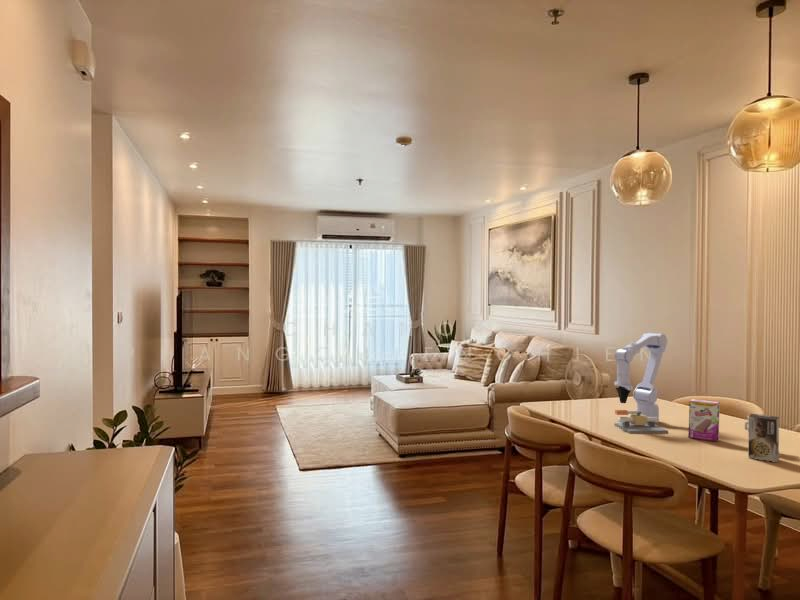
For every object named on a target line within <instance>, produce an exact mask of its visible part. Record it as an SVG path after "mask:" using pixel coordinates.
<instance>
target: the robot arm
mask: <svg viewBox="0 0 800 600" xmlns="http://www.w3.org/2000/svg"><path fill="white" fill-rule="evenodd" d="M667 344H668V339H667V336H666V335H665V333H656V332H655V333H654V332H653V333H652V332H644V333H643V334H642V336H641V338H640V339H638V340H637V341H636V342H634V341H633V342H629V343H628V344H627V345H626V346H624V347H623V348H619V349H617V350H616V351H615V352H614V359H615V364H616V381H615V380H614V383H613V384H614V386H617V387H615V390H616V392H617V395H618V399H619V402H620V403H621V404H626V403H627V400H628V396H629V395H630V393H631V391H633V392H632V397H633V399H634V401H635V402H636V411H640V412H642V413H641V414H642V415H644V416H647V417H658V418H659V417H660V416H659V415H660V408H659V405H658V403H656V402H657V400H658V393H659V391H658V388H657V387H656V386H655V383H656V379H657V375H658V372H659V368H660V364H661V362H662V357H663V354H664V352H666V349H667V348H666V347H667ZM644 347H645V348H646V350H647V351H648V352H650V355H649V358H648V362H647V365H646V369H645V372H644V374H643V375H644V376H643V378H642V381H641V382H640V383H638V384H636V387H635V389H634V387H633V386H634V385H632V384H631V362H632V361H633V359H634V358H635V356H637V354H639V353H640V352H641V350H642V349H643V348H644ZM659 419H660V418H659ZM658 423H660V420H659V422H658Z"/></svg>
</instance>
